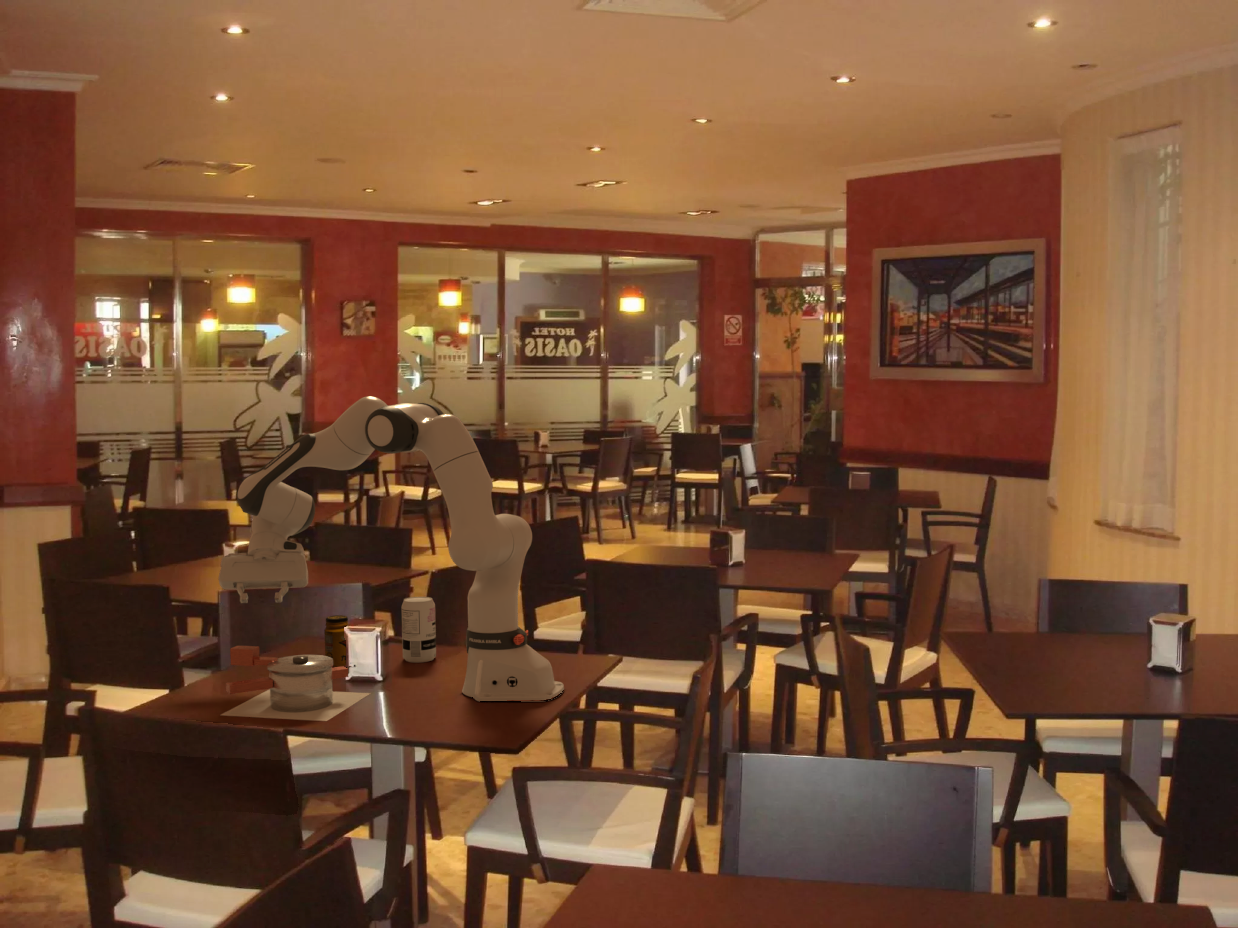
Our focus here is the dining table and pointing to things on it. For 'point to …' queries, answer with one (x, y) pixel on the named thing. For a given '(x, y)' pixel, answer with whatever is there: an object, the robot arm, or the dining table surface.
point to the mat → (262, 709)
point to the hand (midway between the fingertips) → (260, 601)
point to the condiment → (336, 639)
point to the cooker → (294, 689)
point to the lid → (280, 661)
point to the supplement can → (418, 629)
